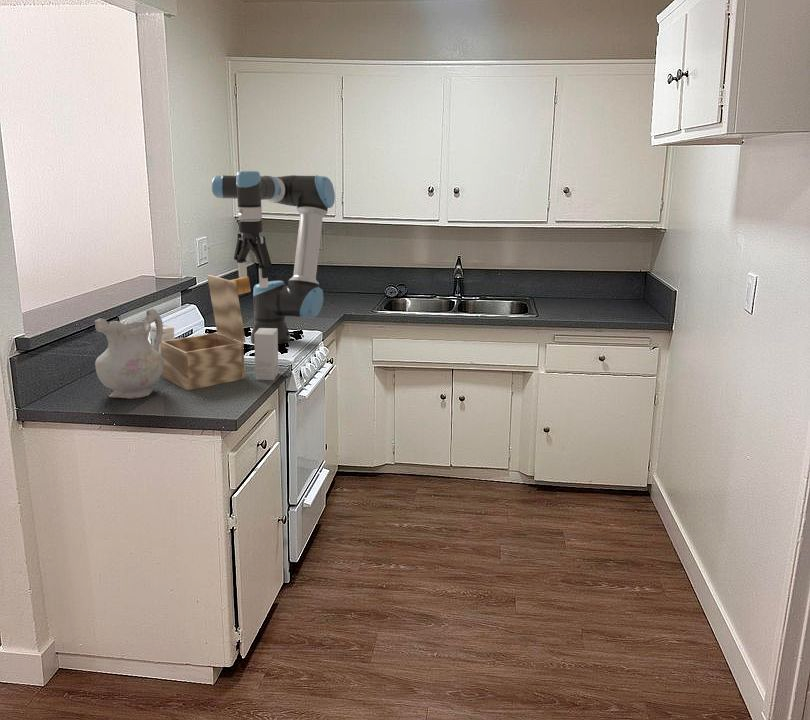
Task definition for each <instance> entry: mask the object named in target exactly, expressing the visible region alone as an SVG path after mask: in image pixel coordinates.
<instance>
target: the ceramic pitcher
mask: <svg viewBox="0 0 810 720" xmlns="http://www.w3.org/2000/svg"><path fill="white" fill-rule="evenodd" d="M157 311H158V310H156V309H154V308H151V309H147V310H146V316H145V317H144V319H143V320H142V321H140V320H139V321H131V322H129V323H126V324H125V323H123V322H120V321H117V320H113V321H109V322H108V321H107V320H106V319H105V318H104V319H103V318H97V319H95V320H94V324H95V325H94V326H95V330H96V332H97V333H101V334H104V335H105V337H106V340H107V343H108V345H107V348H106V349H105V350H104V351H103V353H101V354H100V355H99V356H98V357H97V358H96V359H95V364H94V366H95V372H96V376H97V377H98V379H99V381H100V382H101V383H102V385H103V386H104V387H106V388H108V389H111V390H113V391H112V393H110V394H109V395H108V397H109V398H117V399H118V398H121V399H128V400H133V399H140V398H146V397H145V396H147V397H148V396H149V395H151V394H152V393H153V392H154V391H153V389H152V388H151V387H152V386H154V385H156V384H157V383H158V381H159V380H160V379H161V377H162V376H163V370H164V360H163V357H162V355H161V354H160V353H159V350H158V349H159V344H160V342H161V338H162V332H163V325H164V324H163V323H164V322H163V319H162V317H161V315H159V313H158V312H157ZM152 323H155V326H156V335H155V338H154V344H153V348H152V347H151V344H150V343H149V336H150V329H151V327H152Z"/></svg>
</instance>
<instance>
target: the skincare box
mask: <svg viewBox="0 0 810 720" xmlns="http://www.w3.org/2000/svg"><path fill="white" fill-rule="evenodd" d="M254 343H255V344H254ZM254 343H253V344H254V370H255V371H254V372H255V373H254V374H255V377H254V378H255V381H256V380H257V381H275V379H276V378H277V376H278V374H279V345H278V329H277V328H259V329H258V330H257V331H256V333H255V334H254Z"/></svg>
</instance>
